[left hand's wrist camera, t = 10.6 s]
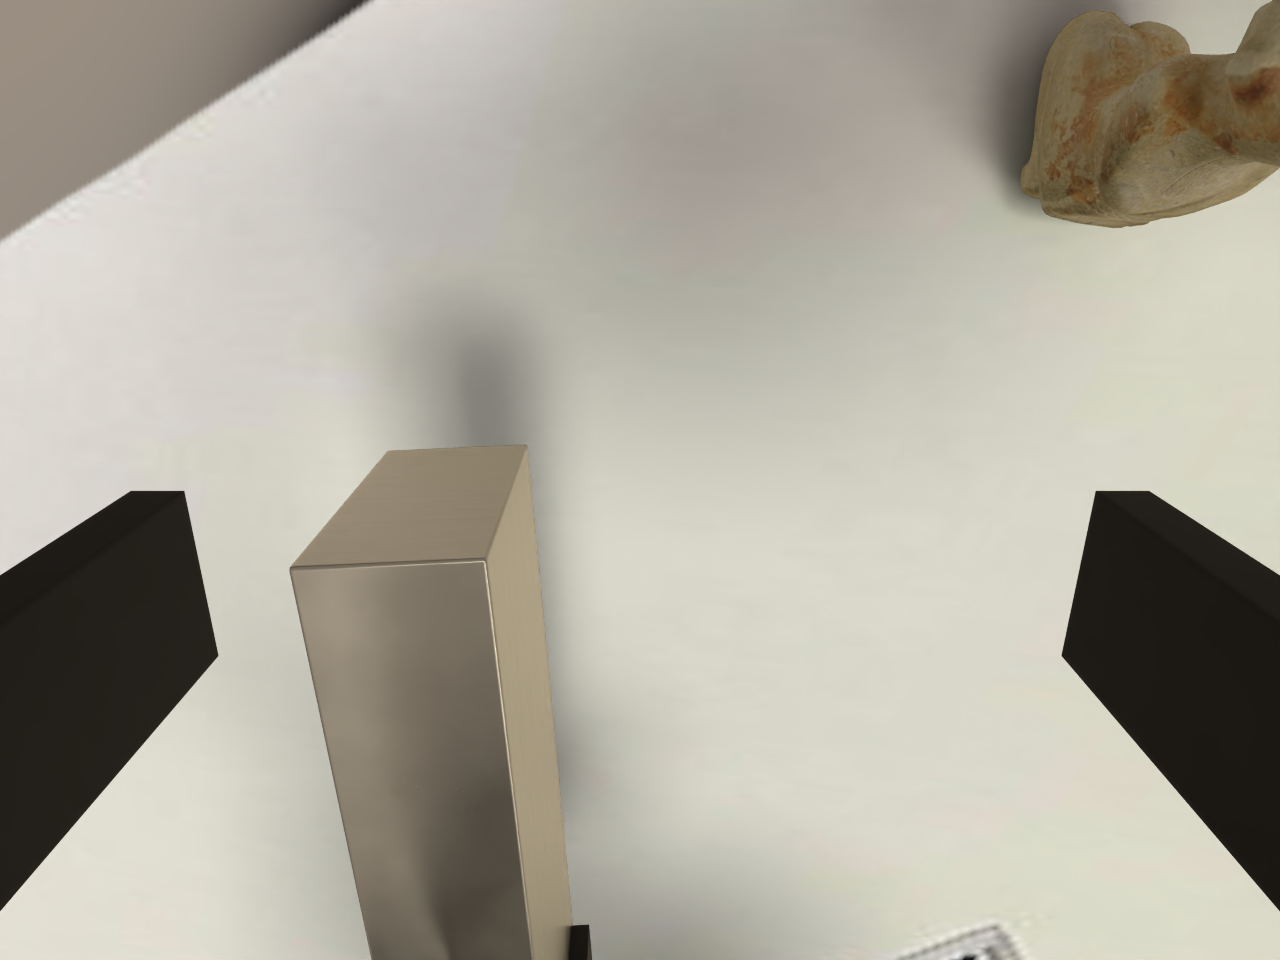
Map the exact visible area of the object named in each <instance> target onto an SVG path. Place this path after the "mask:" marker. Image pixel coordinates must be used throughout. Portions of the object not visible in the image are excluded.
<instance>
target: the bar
mask: <svg viewBox="0 0 1280 960" xmlns="http://www.w3.org/2000/svg"><path fill="white" fill-rule="evenodd" d="M290 575H291V580H292V585H293V590H294V594H295V599H296V604H297V608H298V613H299V618H300V623H301V627H302V632H303V637H304V642H305V646H306V651H307V656H308V661H309V665H310V670H311V675H312V679H313V684H314V689H315V694H316V698H317V703H318V708H319V713H320V717H321V722H322V727H323V732H324V736H325V741H326V746H327V750H328V755H329V760H330V765H331V769H332V774H333V779H334V784H335V788H336V793H337V798H338V802H339V807H340V812H341V817H342V821H343V826H344V831H345V836H346V840H347V845H348V850H349V855H350V859H351V864H352V869H353V873H354V878H355V883H356V888H357V892H358V897H359V902H360V907H361V911H362V916H363V921H364V926H365V930H366V935H367V940H368V944H369V949H370V954H371V959H372V960H569V949H570V935H571V926H573V920H572V910H571V899H570V889H569V878H568V868H567V857H566V847H565V836H564V826H563V815H562V805H561V794H560V784H559V773H558V763H557V752H556V742H555V731H554V721H553V710H552V700H551V689H550V679H549V668H548V658H547V647H546V637H545V626H544V616H543V605H542V595H541V584H540V574H539V563H538V553H537V542H536V532H535V521H534V511H533V500H532V490H531V479H530V469H529V458H528V448H527V445H505V446H483V447H462V448H440V449H419V450H397V451H388V452H387V453H386V454H385V455H384V456H383V457H382V459H381V460H380V461H379V462H378V463H377V464H376V466H375V467H374V468H373V469H372V470H371V472H370V473H369V474H368V475H367V476H366V478H365V479H364V480H363V481H362V482H361V484H360V485H359V486H358V487H357V488H356V489H355V491H354V492H353V493H352V494H351V495H350V497H349V498H348V499H347V500H346V501H345V503H344V504H343V505H342V506H341V507H340V509H339V510H338V511H337V512H336V513H335V514H334V516H333V517H332V518H331V519H330V520H329V522H328V523H327V524H326V525H325V526H324V528H323V529H322V530H321V531H320V532H319V533H318V535H317V536H316V537H315V538H314V539H313V541H312V542H311V543H310V544H309V545H308V547H307V548H306V549H305V550H304V551H303V553H302V554H301V555H300V556H299V557H298V558H297V560H296V561H295V562H294V563H293V564H292V566H291V567H290Z"/></svg>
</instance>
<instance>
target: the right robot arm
mask: <svg viewBox="0 0 1280 960" xmlns="http://www.w3.org/2000/svg"><path fill="white" fill-rule="evenodd" d="M569 960H592V954H591V942H590V931H589V925H574V926H571V935H570V949H569Z"/></svg>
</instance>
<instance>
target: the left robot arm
mask: <svg viewBox="0 0 1280 960" xmlns="http://www.w3.org/2000/svg"><path fill="white" fill-rule="evenodd" d="M217 657H218V651H217V646H216V642H215V637H214V632H213V627H212V622H211V618H210V613H209V608H208V603H207V598H206V594H205V589H204V584H203V579H202V574H201V570H200V565H199V560H198V555H197V550H196V546H195V541H194V536H193V531H192V526H191V521H190V517H189V512H188V507H187V502H186V497H185V493H184V491H130V492H129V493H127V494H126V495H124V496H122V497H121V498H119V499H118V500H116V501H115V502H113V503H112V504H110V505H109V506H107V507H105V508H104V509H102V510H101V511H99V512H98V513H96V514H95V515H93V516H92V517H90V518H88V519H87V520H85V521H84V522H82V523H81V524H79V525H78V526H76V527H74V528H73V529H71V530H70V531H68V532H67V533H65V534H64V535H62V536H61V537H59V538H57V539H56V540H54V541H53V542H51V543H50V544H48V545H47V546H45V547H43V548H42V549H40V550H39V551H37V552H36V553H34V554H33V555H31V556H30V557H28V558H26V559H25V560H23V561H22V562H20V563H19V564H17V565H16V566H14V567H12V568H11V569H9V570H8V571H6V572H5V573H3V574H2V575H0V911H1V910H2V908H3V907H4V906H5V905H6V904H7V903H8V901H9V900H10V899H11V898H12V897H13V896H14V894H15V893H16V892H17V891H18V890H19V889H20V887H21V886H22V885H23V884H24V883H25V882H26V880H27V879H28V878H29V877H30V876H31V874H32V873H33V872H34V871H35V870H36V869H37V867H38V866H39V865H40V864H41V863H42V862H43V860H44V859H45V858H46V857H47V856H48V855H49V853H50V852H51V851H52V850H53V849H54V848H55V846H56V845H57V844H58V843H59V842H60V841H61V839H62V838H63V837H64V836H65V835H66V834H67V832H68V831H69V830H70V829H71V828H72V827H73V825H74V824H75V823H76V822H77V821H78V820H79V818H80V817H81V816H82V815H83V814H84V812H85V811H86V810H87V809H88V808H89V807H90V805H91V804H92V803H93V802H94V801H95V800H96V798H97V797H98V796H99V795H100V794H101V793H102V791H103V790H104V789H105V788H106V787H107V786H108V784H109V783H110V782H111V781H112V780H113V779H114V777H115V776H116V775H117V774H118V773H119V772H120V770H121V769H122V768H123V767H124V766H125V765H126V763H127V762H128V761H129V760H130V759H131V757H132V756H133V755H134V754H135V753H136V752H137V750H138V749H139V748H140V747H141V746H142V745H143V743H144V742H145V741H146V740H147V739H148V738H149V736H150V735H151V734H152V733H153V732H154V731H155V729H156V728H157V727H158V726H159V725H160V724H161V722H162V721H163V720H164V719H165V718H166V717H167V715H168V714H169V713H170V712H171V711H172V710H173V708H174V707H175V706H176V705H177V704H178V703H179V701H180V700H181V699H182V698H183V697H184V695H185V694H186V693H187V692H188V691H189V690H190V688H191V687H192V686H193V685H194V684H195V683H196V681H197V680H198V679H199V678H200V677H201V676H202V674H203V673H204V672H205V671H206V670H207V669H208V667H209V666H210V665H211V664H212V663H213V662H214V660H215V659H216V658H217ZM1062 657H1063V658H1064V659H1065V660H1066V662H1067V663H1068V664H1069V665H1070V666H1071V667H1072V669H1073V670H1074V671H1075V672H1076V673H1077V674H1078V676H1079V677H1080V678H1081V679H1082V680H1083V681H1084V683H1085V684H1086V685H1087V686H1088V687H1089V688H1090V690H1091V691H1092V692H1093V693H1094V694H1095V695H1096V697H1097V698H1098V699H1099V700H1100V701H1101V702H1102V704H1103V705H1104V706H1105V707H1106V708H1107V710H1108V711H1109V712H1110V713H1111V714H1112V715H1113V717H1114V718H1115V719H1116V720H1117V721H1118V722H1119V724H1120V725H1121V726H1122V727H1123V728H1124V729H1125V731H1126V732H1127V733H1128V734H1129V735H1130V736H1131V738H1132V739H1133V740H1134V741H1135V742H1136V743H1137V745H1138V746H1139V747H1140V748H1141V749H1142V750H1143V752H1144V753H1145V754H1146V755H1147V756H1148V757H1149V759H1150V760H1151V761H1152V762H1153V763H1154V765H1155V766H1156V767H1157V768H1158V769H1159V770H1160V772H1161V773H1162V774H1163V775H1164V776H1165V777H1166V779H1167V780H1168V781H1169V782H1170V783H1171V784H1172V786H1173V787H1174V788H1175V789H1176V790H1177V791H1178V793H1179V794H1180V795H1181V796H1182V797H1183V798H1184V800H1185V801H1186V802H1187V803H1188V804H1189V805H1190V807H1191V808H1192V809H1193V810H1194V811H1195V812H1196V814H1197V815H1198V816H1199V817H1200V818H1201V820H1202V821H1203V822H1204V823H1205V824H1206V825H1207V827H1208V828H1209V829H1210V830H1211V831H1212V832H1213V834H1214V835H1215V836H1216V837H1217V838H1218V839H1219V841H1220V842H1221V843H1222V844H1223V845H1224V846H1225V848H1226V849H1227V850H1228V851H1229V852H1230V853H1231V855H1232V856H1233V857H1234V858H1235V859H1236V860H1237V862H1238V863H1239V864H1240V865H1241V866H1242V867H1243V869H1244V870H1245V871H1246V872H1247V873H1248V874H1249V876H1250V877H1251V878H1252V879H1253V880H1254V882H1255V883H1256V884H1257V885H1258V886H1259V887H1260V889H1261V890H1262V891H1263V892H1264V893H1265V894H1266V896H1267V897H1268V898H1269V899H1270V900H1271V901H1272V903H1273V904H1274V905H1275V906H1276V907H1277V908H1278V910H1279V911H1280V575H1278V574H1277V573H1275V572H1274V571H1272V570H1271V569H1269V568H1268V567H1266V566H1264V565H1263V564H1261V563H1260V562H1258V561H1257V560H1255V559H1254V558H1252V557H1250V556H1249V555H1247V554H1246V553H1244V552H1243V551H1241V550H1240V549H1238V548H1237V547H1235V546H1233V545H1232V544H1230V543H1229V542H1227V541H1226V540H1224V539H1223V538H1221V537H1219V536H1218V535H1216V534H1215V533H1213V532H1212V531H1210V530H1209V529H1207V528H1206V527H1204V526H1202V525H1201V524H1199V523H1198V522H1196V521H1195V520H1193V519H1192V518H1190V517H1188V516H1187V515H1185V514H1184V513H1182V512H1181V511H1179V510H1178V509H1176V508H1175V507H1173V506H1171V505H1170V504H1168V503H1167V502H1165V501H1164V500H1162V499H1161V498H1159V497H1158V496H1156V495H1154V494H1153V493H1151V492H1150V491H1096V493H1095V497H1094V502H1093V507H1092V512H1091V517H1090V521H1089V526H1088V531H1087V536H1086V541H1085V546H1084V550H1083V555H1082V560H1081V565H1080V570H1079V574H1078V579H1077V584H1076V589H1075V594H1074V598H1073V603H1072V608H1071V613H1070V618H1069V622H1068V627H1067V632H1066V637H1065V642H1064V646H1063V651H1062Z"/></svg>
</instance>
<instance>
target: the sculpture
mask: <svg viewBox="0 0 1280 960" xmlns="http://www.w3.org/2000/svg"><path fill="white" fill-rule="evenodd" d="M1279 168H1280V0H1272V1H1271V2H1269V3H1267V4H1265V5H1264V6H1262V7H1260V8H1259V9H1258V10H1257V11H1256V12H1255V14H1254V16H1253V18H1252V20H1251V22H1250V24H1249V27H1248V29H1247V31H1246V33H1245V35H1244V37H1243V40H1242V42H1241V44H1240V46H1239V48H1238V49H1237V51H1236V53H1232V54H1226V55H1202V54H1191V52H1190V49H1189V45H1188V43H1187V41H1186V39H1185V38H1184V37H1183V36H1182V35H1181V34H1180V33H1179V32H1177V31H1176V30H1175V29H1173V28H1171V27H1169V26H1166V25H1163V24H1160V23H1156V22H1150V21H1148V22H1142V23H1137V24H1134V25H1131V26H1130V27H1129V26H1127V25H1126V24H1125V23H1123V22H1122V21H1121V20H1120V19H1119V18H1118V17H1117V15H1116V14H1114V13H1108V12H1102V11H1089V12H1086V13H1083V14H1081V15H1079V16H1077V17H1075V18H1074V19H1072V20H1071V21H1070V22H1069V23H1068V24H1067V25H1066V26H1065V27H1064V28H1063V29H1062V31H1061V32H1060V33H1059V34H1058V36H1057V38H1056V39H1055V41H1054V42H1053V44H1052V46H1051V48H1050V50H1049V52H1048V55H1047V58H1046V61H1045V64H1044V68H1043V71H1042V77H1041V83H1040V89H1039V95H1038V102H1037V109H1036V117H1035V132H1034V140H1033V147H1032V152H1031V157H1030V160H1029V162H1027V163H1026V164H1025V165H1024V167H1023V169H1022V171H1021V179H1020V183H1021V189H1022V191H1023V192H1024V193H1025V194H1027V195H1029V196H1031V197H1034V198H1038V199H1040V200H1041V205H1042V209H1043V211H1044V212H1045V213H1046V214H1047V215H1049V216H1051V217H1055V218H1059V219H1063V220H1067V221H1071V222H1076V223H1081V224H1088V225H1095V226H1103V227H1110V228H1122V227H1125V226H1136V225H1144V224H1148V223H1149V222H1150V221H1154V220H1158V219H1160V218H1170V217H1177V216H1182V215H1186V214H1190V213H1194V212H1197V211H1200V210H1203V209H1205V208H1208V207H1211V206H1214V205H1217V204H1220V203H1223V202H1226V201H1229V200H1231V199H1234V198H1236V197H1238V196H1241V195H1243V194H1245V193H1246V192H1248V191H1249V190H1251V189H1252V188H1254V187H1255V186H1257V185H1258V184H1259V183H1261V182H1262V181H1263V180H1264V179H1266V178H1267V177H1268V176H1270V175H1271V174H1272V173H1274V172H1275V171H1276V170H1278V169H1279Z"/></svg>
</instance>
